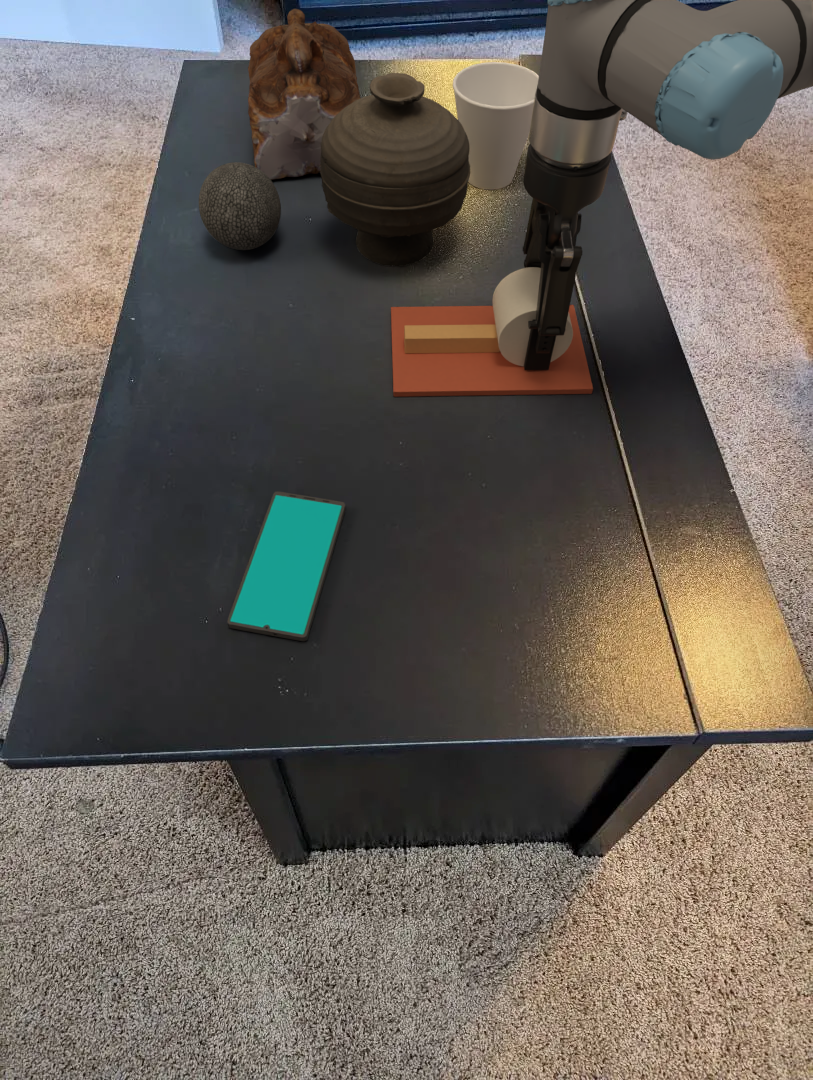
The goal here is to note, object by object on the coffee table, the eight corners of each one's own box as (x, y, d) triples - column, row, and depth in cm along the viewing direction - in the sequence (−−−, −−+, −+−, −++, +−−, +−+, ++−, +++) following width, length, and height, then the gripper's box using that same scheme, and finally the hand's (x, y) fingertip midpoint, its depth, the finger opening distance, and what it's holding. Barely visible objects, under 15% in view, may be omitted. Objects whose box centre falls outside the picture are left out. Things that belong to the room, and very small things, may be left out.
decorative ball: (298, 229, 100) (289, 155, 92) (263, 274, 95) (250, 200, 87) (231, 212, 102) (216, 138, 94) (193, 255, 97) (174, 181, 89)
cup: (429, 176, 107) (433, 84, 97) (482, 143, 112) (491, 52, 102) (495, 211, 103) (506, 118, 93) (547, 174, 108) (563, 82, 97)
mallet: (405, 368, 85) (406, 311, 78) (403, 326, 89) (404, 267, 82) (565, 366, 85) (579, 309, 79) (556, 324, 89) (569, 266, 83)
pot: (494, 223, 100) (502, 65, 83) (421, 307, 93) (412, 154, 76) (383, 182, 106) (368, 26, 89) (305, 258, 99) (273, 105, 82)
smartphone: (345, 502, 74) (305, 637, 66) (346, 507, 75) (306, 642, 67) (273, 490, 75) (224, 623, 67) (274, 495, 76) (226, 627, 68)
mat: (572, 309, 92) (573, 304, 91) (591, 394, 84) (593, 388, 84) (390, 312, 91) (390, 306, 91) (393, 397, 84) (393, 391, 83)
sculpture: (219, 166, 102) (222, 90, 113) (336, 227, 112) (328, 152, 123) (284, 34, 90) (280, -36, 101) (409, 116, 100) (393, 44, 111)
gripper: (633, 213, 63) (578, 407, 82) (593, 90, 73) (552, 286, 93) (543, 214, 62) (508, 408, 81) (516, 90, 73) (491, 287, 92)
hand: (531, 343), depth 87 cm, fingers closed on mallet, 7 cm apart
